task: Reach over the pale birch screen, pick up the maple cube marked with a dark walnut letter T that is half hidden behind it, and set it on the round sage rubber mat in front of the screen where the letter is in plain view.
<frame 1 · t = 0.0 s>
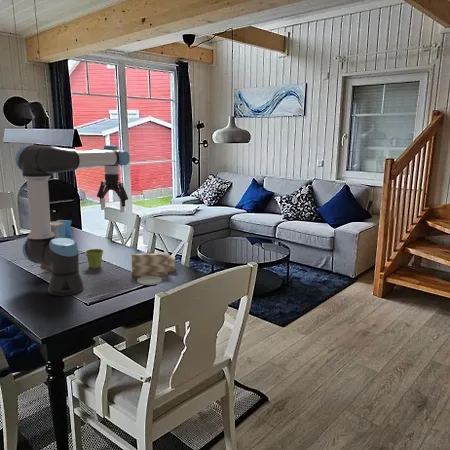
hand: (112, 210, 226), 28 cm above the table, tool pointing down, fingers open, 13 cm apart
sage mat: (149, 280, 198), on the table
candle holder: (55, 266, 214), on the table
vase: (63, 254, 235), on the table
birch screen: (149, 274, 206), on the table
plant pot: (95, 266, 216), on the table
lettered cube: (168, 269, 216), on the table
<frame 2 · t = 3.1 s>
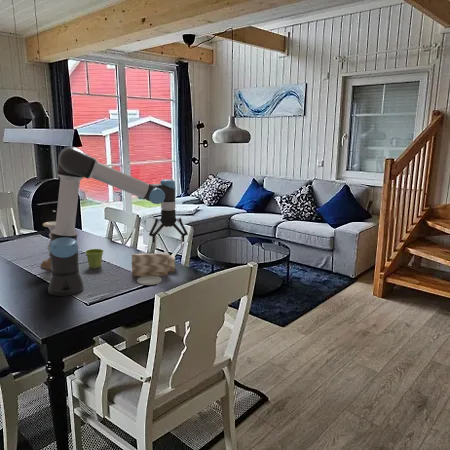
hand: (168, 248, 213), 12 cm above the table, tool pointing down, fingers open, 13 cm apart
nothing on the table moved.
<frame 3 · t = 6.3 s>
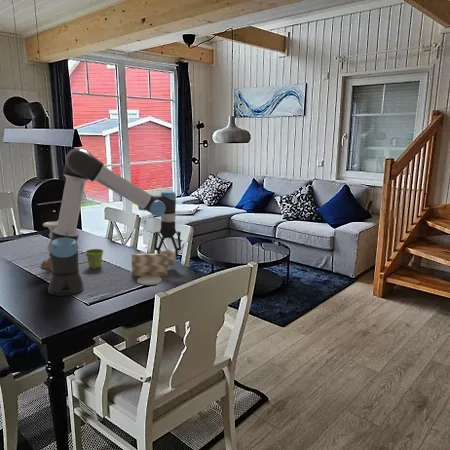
hand: (167, 262, 215), 4 cm above the table, tool pointing down, fingers closed on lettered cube, 7 cm apart
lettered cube: (167, 262, 215), point 4 cm above the table, touching gripper
everything else where it was.
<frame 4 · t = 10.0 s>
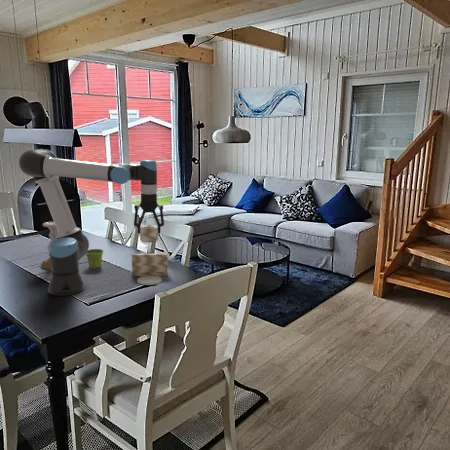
hand: (149, 239, 193), 21 cm above the table, tool pointing down, fingers closed on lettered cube, 7 cm apart
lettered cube: (149, 240, 193), point 21 cm above the table, touching gripper
everything else where it was.
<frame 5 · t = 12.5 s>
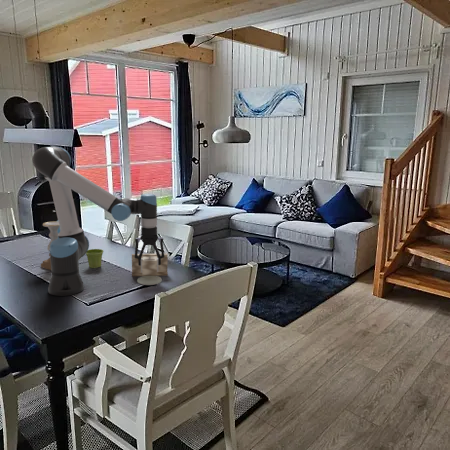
hand: (149, 271, 197), 5 cm above the table, tool pointing down, fingers closed on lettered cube, 7 cm apart
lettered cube: (149, 272, 197), point 5 cm above the table, touching gripper
everything else where it was.
when the fingers open (1 cm above the table, at t = 14.2 s): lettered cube stays where it is, resting on sage mat.
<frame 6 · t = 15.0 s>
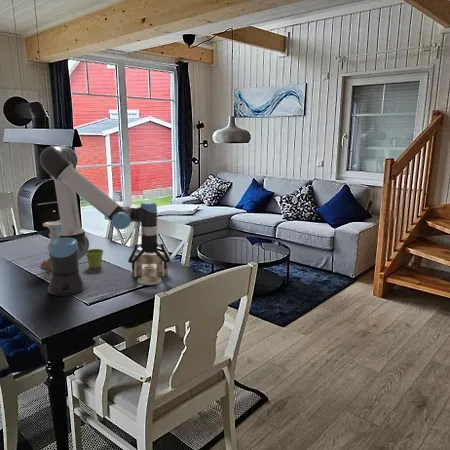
hand: (149, 275, 197), 3 cm above the table, tool pointing down, fingers open, 13 cm apart
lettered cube: (149, 279, 198), point 1 cm above the table, touching sage mat
everything else where it was.
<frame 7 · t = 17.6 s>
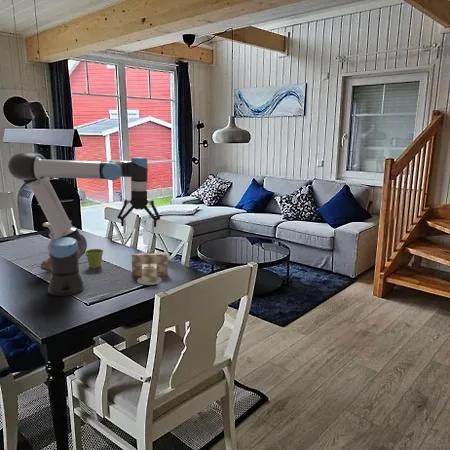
hand: (138, 233, 194), 24 cm above the table, tool pointing down, fingers open, 13 cm apart
nothing on the table moved.
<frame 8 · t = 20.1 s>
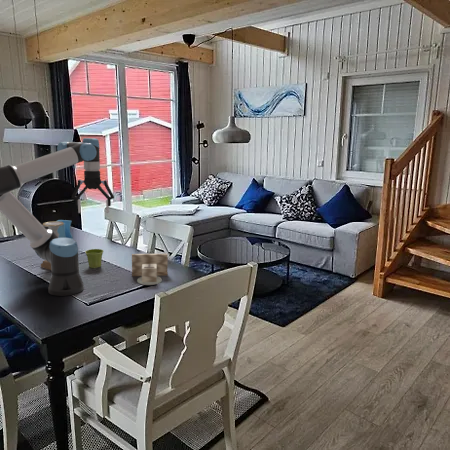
hand: (93, 212, 200), 32 cm above the table, tool pointing down, fingers open, 13 cm apart
nothing on the table moved.
at the end: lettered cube 0.1 cm from the sage mat (horizontally); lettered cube tilted 0°; the gripper is holding nothing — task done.
